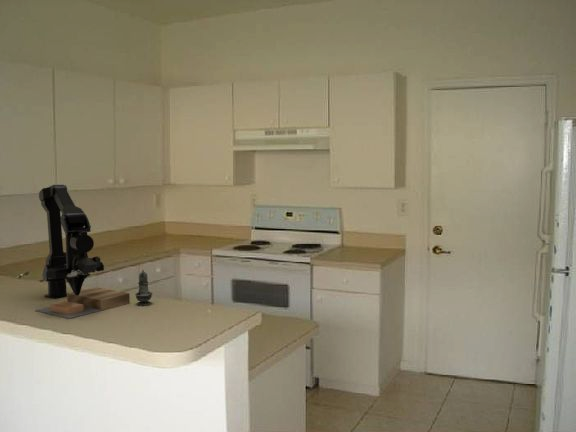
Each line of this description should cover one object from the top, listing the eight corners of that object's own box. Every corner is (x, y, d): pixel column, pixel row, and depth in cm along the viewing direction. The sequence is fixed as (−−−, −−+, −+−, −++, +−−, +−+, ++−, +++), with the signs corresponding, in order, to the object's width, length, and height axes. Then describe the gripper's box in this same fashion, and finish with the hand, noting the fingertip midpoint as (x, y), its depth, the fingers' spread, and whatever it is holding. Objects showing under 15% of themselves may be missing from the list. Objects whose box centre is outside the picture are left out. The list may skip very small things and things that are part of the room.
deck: (67, 303, 201) (67, 293, 201) (96, 296, 211) (95, 287, 211) (101, 310, 191) (100, 300, 191) (129, 303, 201) (129, 293, 201)
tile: (66, 301, 195) (66, 306, 195) (50, 304, 190) (50, 310, 190) (83, 304, 190) (83, 310, 190) (67, 308, 185) (67, 314, 185)
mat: (35, 311, 191) (35, 310, 191) (67, 303, 201) (67, 302, 201) (69, 319, 181) (69, 318, 181) (101, 310, 191) (101, 309, 191)
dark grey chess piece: (155, 302, 202) (154, 268, 201) (149, 306, 197) (148, 271, 195) (138, 301, 203) (137, 268, 202) (132, 306, 197) (131, 271, 196)
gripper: (65, 255, 180) (67, 304, 181) (114, 247, 195) (115, 292, 197) (44, 252, 186) (46, 299, 187) (92, 244, 201) (94, 289, 203)
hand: (77, 295), depth 194 cm, fingers closed
